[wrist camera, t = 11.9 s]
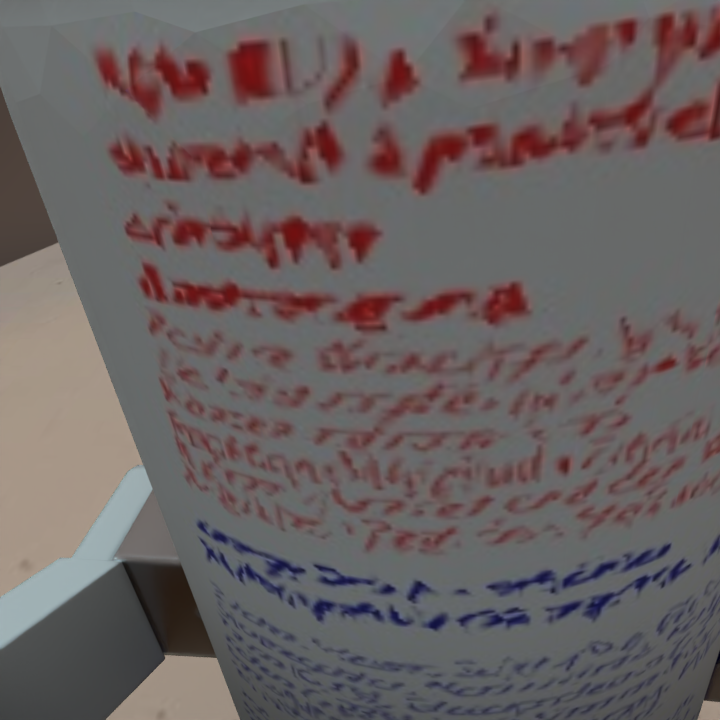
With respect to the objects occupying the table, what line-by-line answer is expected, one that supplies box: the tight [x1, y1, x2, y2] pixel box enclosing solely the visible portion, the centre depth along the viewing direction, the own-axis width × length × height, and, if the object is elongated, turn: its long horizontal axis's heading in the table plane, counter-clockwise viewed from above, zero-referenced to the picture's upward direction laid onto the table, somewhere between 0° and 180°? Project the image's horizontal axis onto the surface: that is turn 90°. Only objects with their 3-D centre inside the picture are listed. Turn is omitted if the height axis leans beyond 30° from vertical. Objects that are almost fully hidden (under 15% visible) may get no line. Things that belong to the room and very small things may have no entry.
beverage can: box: [0, 0, 720, 720], centre depth 8 cm, size 6×6×15 cm
